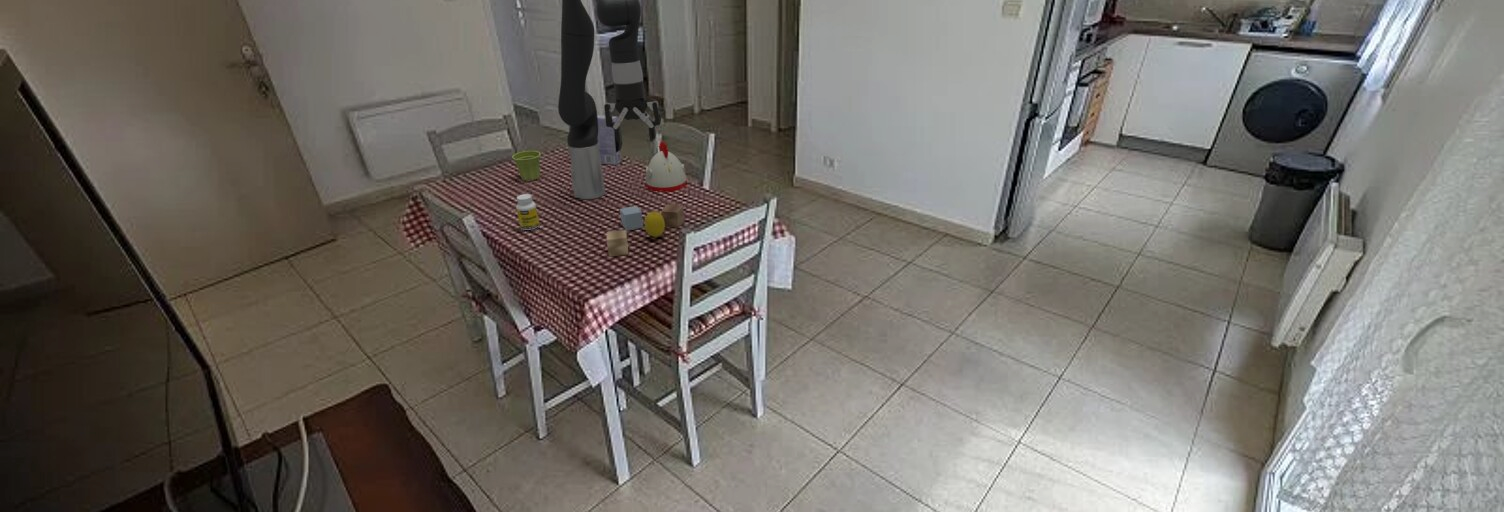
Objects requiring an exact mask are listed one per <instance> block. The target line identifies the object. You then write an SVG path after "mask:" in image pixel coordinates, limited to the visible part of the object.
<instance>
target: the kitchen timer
mask: <svg viewBox="0 0 1504 512" xmlns="http://www.w3.org/2000/svg"><path fill="white" fill-rule="evenodd" d="M658 149H659V151H658V152H657V153H655V155H654V156H652V158H651V159H650V161H649V164H648V165H646V167H645V187H646V189H647V190H649V191H652V192H656V191H657V192H658V193H671V192H677V191H678V190H682V189H684V188H685V187H686V186H687V184H688V181H687V180H688V179H687V174H686V168H685V165H684V163H681V161H680V160H679V158H678V157H677V156H675V154H674V153H672V152H671V151H669V149H668V148H667V144H666V143H665V142H664V141H663V140H662V141H660V143H659V145H658ZM685 185H686V186H685ZM683 187H684V188H683ZM670 191H671V192H670Z"/></svg>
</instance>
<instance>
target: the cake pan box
mask: <svg viewBox="0 0 1504 512" xmlns="http://www.w3.org/2000/svg"><path fill="white" fill-rule="evenodd" d="M618 117H619V116H614V115H612V121H613V122H616V120H617V119H618ZM597 118H598V128H599V131H598V145H599V152H600V159H601V165H611V166H612V165H613V166H618V165H619V164H621V163H622V162H623V161H622V152H621V149H622V146H623V141H622V142H621V143H618V141H616V139H615V133H614V129H613V128H612V127H607V126H606V120H605V115H598V114H597ZM569 131H570V126H569V125H568V132H569Z"/></svg>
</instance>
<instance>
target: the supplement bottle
mask: <svg viewBox="0 0 1504 512" xmlns="http://www.w3.org/2000/svg"><path fill="white" fill-rule="evenodd" d="M516 200H517V204H516V207H515V208H516V212H517V213H516V214H517V217H518V223H519V227H520V229H521V230H522V229H523V230H522V231H524V230H531V229H535V228H537V227H538V228H540V226H541V225H540V220H539V215H538V209H537V204H536V202H535V201H533V197H532V194H530V193H529V194H528V193H523V194H520V195H517V196H516ZM539 225H540V226H539ZM538 228H537V229H538ZM535 230H536V229H535ZM531 231H532V230H531Z"/></svg>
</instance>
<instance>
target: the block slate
mask: <svg viewBox="0 0 1504 512" xmlns="http://www.w3.org/2000/svg"><path fill="white" fill-rule="evenodd" d="M619 210H620V211H619V212H620V218H621V219H620V220H621V225H622V227H623V228H624V230H626V232H627V231H632V230H637V229H643V228H644V224H643V215H642V213H643V212H642V210H641V209H640V208H639V207H638V205H634V206H629V207H624V208H620V209H619Z"/></svg>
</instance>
